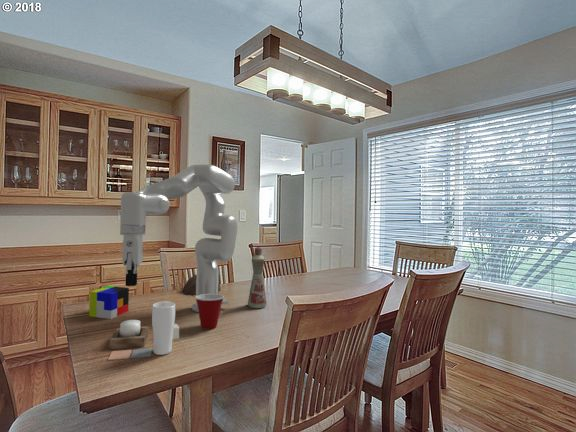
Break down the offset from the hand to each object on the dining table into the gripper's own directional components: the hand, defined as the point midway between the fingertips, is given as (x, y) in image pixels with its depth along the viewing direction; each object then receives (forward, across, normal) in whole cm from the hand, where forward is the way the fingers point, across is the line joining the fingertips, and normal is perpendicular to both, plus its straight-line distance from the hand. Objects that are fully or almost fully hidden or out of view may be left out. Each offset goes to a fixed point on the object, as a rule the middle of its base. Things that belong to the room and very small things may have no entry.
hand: (131, 285), depth 107 cm
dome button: (+17, 0, 0) cm, 17 cm away
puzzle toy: (+19, +31, +13) cm, 39 cm away
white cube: (+19, +1, -13) cm, 23 cm away
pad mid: (+19, -10, -5) cm, 22 cm away
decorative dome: (+19, +62, -25) cm, 70 cm away
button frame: (+19, 0, 0) cm, 19 cm away
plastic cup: (+19, +9, -26) cm, 34 cm away
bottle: (+19, +31, -49) cm, 61 cm away
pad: (+19, -10, +1) cm, 21 cm away
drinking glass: (+19, -10, -11) cm, 24 cm away
